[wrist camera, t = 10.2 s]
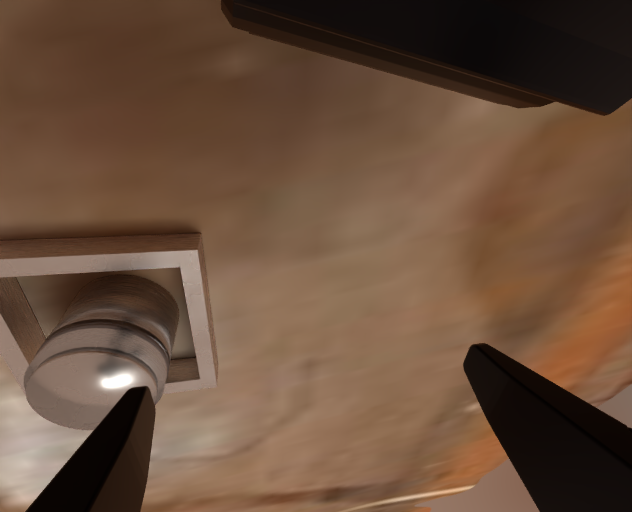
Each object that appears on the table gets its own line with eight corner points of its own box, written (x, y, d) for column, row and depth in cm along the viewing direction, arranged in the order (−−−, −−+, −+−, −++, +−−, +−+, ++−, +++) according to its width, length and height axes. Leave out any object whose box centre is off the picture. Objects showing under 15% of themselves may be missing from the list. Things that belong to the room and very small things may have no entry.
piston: (172, 271, 20) (151, 342, 15) (185, 344, 23) (172, 423, 18) (57, 277, 18) (-9, 357, 13) (88, 353, 22) (43, 442, 16)
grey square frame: (200, 233, 19) (197, 249, 17) (218, 364, 24) (217, 386, 23) (-40, 242, 16) (-72, 262, 15) (40, 385, 22) (24, 412, 20)
